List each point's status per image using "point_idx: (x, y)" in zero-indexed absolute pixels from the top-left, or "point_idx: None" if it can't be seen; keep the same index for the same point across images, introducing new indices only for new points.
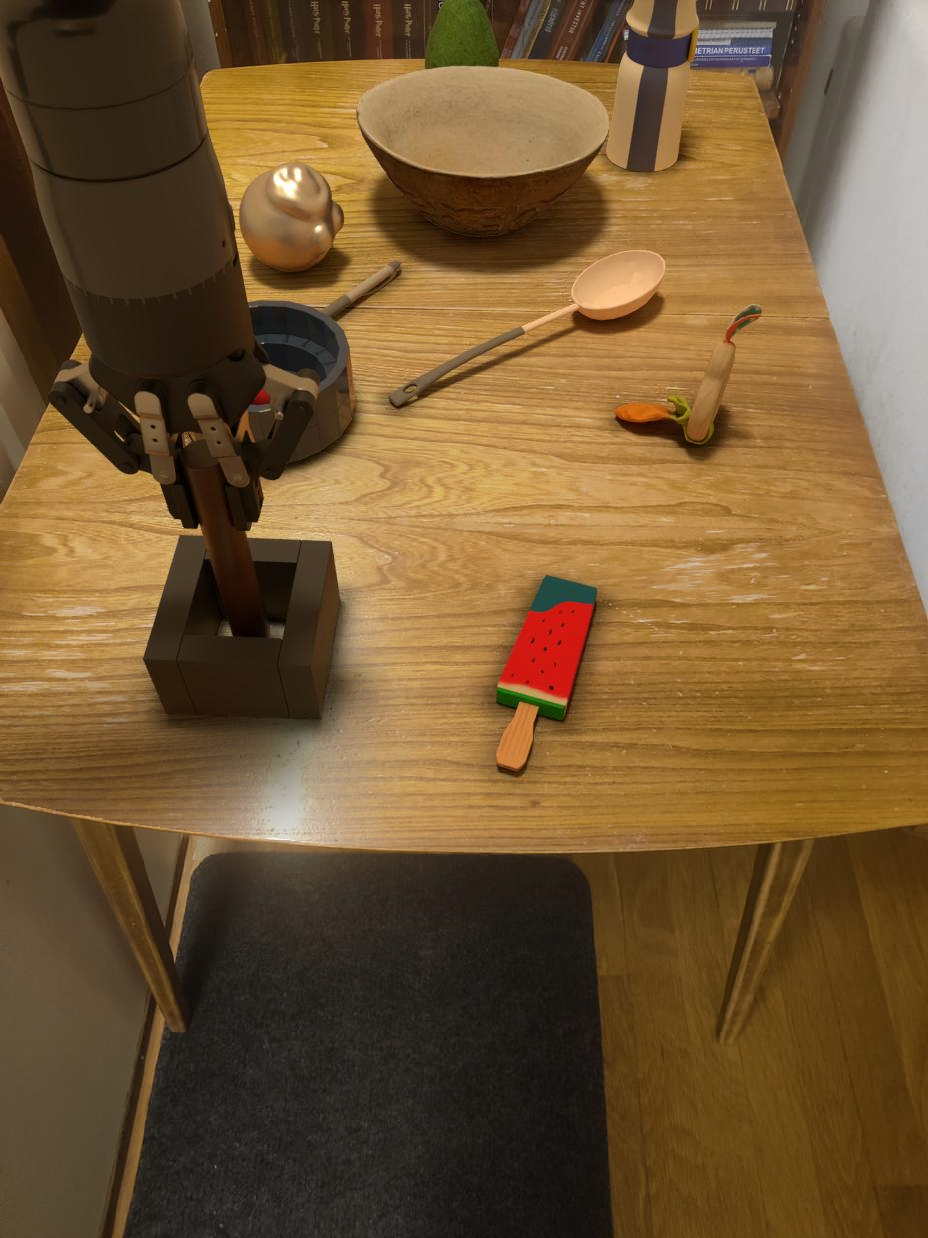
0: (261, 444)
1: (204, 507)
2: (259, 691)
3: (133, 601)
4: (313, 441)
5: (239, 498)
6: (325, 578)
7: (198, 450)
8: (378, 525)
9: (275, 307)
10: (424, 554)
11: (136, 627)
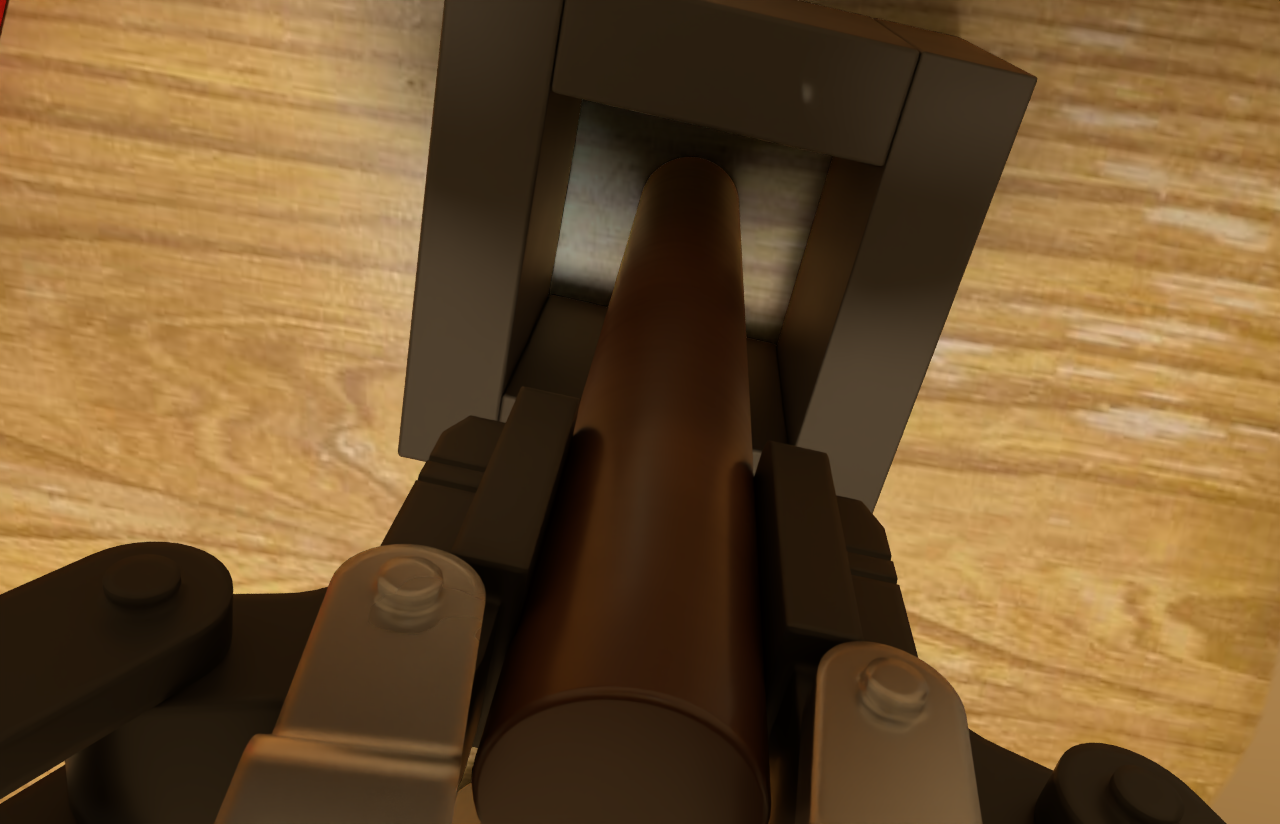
0: (201, 806)
1: (693, 500)
2: None
3: (999, 428)
4: None
5: (477, 501)
6: (412, 319)
7: None
8: (371, 543)
9: None
10: (254, 441)
11: (1003, 346)
